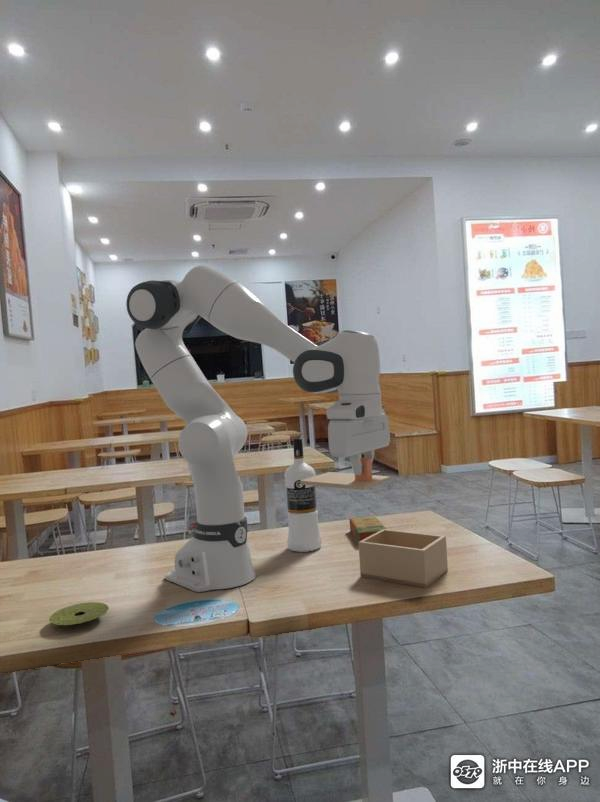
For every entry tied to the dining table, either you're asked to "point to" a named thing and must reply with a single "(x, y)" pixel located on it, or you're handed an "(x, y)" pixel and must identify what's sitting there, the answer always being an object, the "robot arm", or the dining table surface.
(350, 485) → the box lid
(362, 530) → the carton
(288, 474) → the vodka
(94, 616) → the green disc
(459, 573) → the dining table surface
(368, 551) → the brown carton
